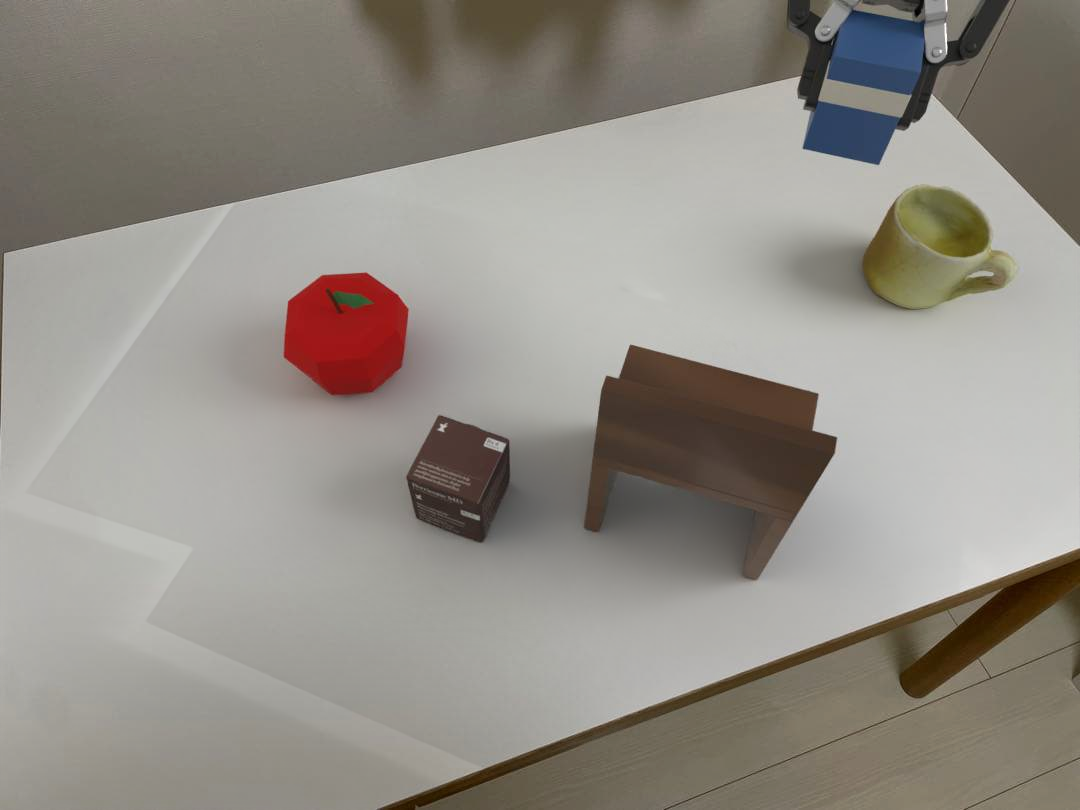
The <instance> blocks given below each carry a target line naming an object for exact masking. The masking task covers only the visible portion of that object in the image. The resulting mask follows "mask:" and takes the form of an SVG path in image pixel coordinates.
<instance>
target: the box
mask: <svg viewBox="0 0 1080 810" xmlns="http://www.w3.org/2000/svg"><path fill="white" fill-rule="evenodd" d="M510 442H511V441H510V438H508V437H505V436H502V435H499V434H496V433H494V432H490V431H487V430H484V429H482V428H480V427H478V426H476V425H473V424H470V423H464V422H461V421H459V420H456V419H453V418H450V417H447V416H444V415H441V414H438V415H437V417H436V419H435V421H434V422H433V425H432V427H431V428H430V431H429V432H428V434H427V436H426V438H425V440H424V442H423V444H422V445H421V447H420V449H419V451H418V453H417V455H416V456H415V458H414V460H413V462H412V464H411V466H410V468H409V469H408V472H407V473H406V475H405V479H406V481H407V488H408V490H409V494H410V499H411V503H412V507H413V512H414V515H415V519H416V520H419V521H421V522H423V523H425V524H428V525H430V526H434V527H436V528H439V529H441V530H443V531H446V532H449V533H452V534H454V535H457V536H459V537H463V538H464V539H468V540H471V541H474V542H475V543H476V542H477V543H478V544H479V543H482V544H483V542H484V541H485V539H486V537H487V535H488V533H489V530H490V528H491V525H492V523H493V521H494V519H495V517H496V514H497V512H498V510H499V508H500V506H501V503H502V501H503V499H504V497H505V494H506V492H507V491H508V488H509V485H510V483H511V461H510V457H511V456H510V455H511V454H510V451H511V450H510V446H511V445H510Z"/></svg>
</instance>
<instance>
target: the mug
mask: <svg viewBox="0 0 1080 810" xmlns="http://www.w3.org/2000/svg"><path fill="white" fill-rule="evenodd" d="M993 232H994V231H993V227H992V224H991V221H990V218H989V217H988V215H987V214H986V212H984V210H983V209H982V208H981V207H980V206H979V205H978V204H977V203H976V202H975V201H974V200H973V199H971V198H970V197H968V196H967V195H966V194H964V193H962V192H961V191H959V190H955V189H953V188H951V187H949V186H935V185H931V184H915V185H913V186H911V187H909V188H906V189H905V190H904V191H902V192H901V193H900V195H899V196H897V198H896V199H895V200H894V202H892V204H891V206H890V207H889V208H888V210H887V213H886V214H885V216H884V218H883V220H882V221H881V224H880V226H879V227H878V229H877V231H876V233H875V235H874V236H873V237H872V240H871V241H870V243H869V244H868V246H867V248H866V250H865V252H864V255H863V257H862V262H861V263H862V264H861V265H862V271H863V274H864V278H865V280H866V282H867V284H868V287H869V288H870V289H871V291H873V293H874V294H875V295H877V296H879V297H881V298H882V299H884V301H885V300H886V301H888V302H890V303H891V304H894V305H896V306H898V307H901V308H906V309H909V310H910V309H911V310H919V309H920V310H921V309H928V308H932V307H936V306H937V305H939V304H942V303H946V302H950V301H953V300H956V299H958V298H960V297H962V296H966V295H975V294H983V293H987V292H991V291H993V292H994V291H998V290H1001V289H1003V288H1005V287H1006V286H1007V285H1009V284H1010V283H1011V282H1013V281H1014V279H1015V278H1016V276H1017V275H1018V271H1019V266H1018V262H1017V261H1016V260H1015V259H1014V258H1013V257H1012V256H1011V255H1010V254H1009V253H1007V252H1005V251H1002V250H997V249H995V250H994V249H992V242H993V240H994V233H993ZM979 272H988V273H992V275H980V276H974V277H969V276H971V275H973V274H975V273H979Z"/></svg>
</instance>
